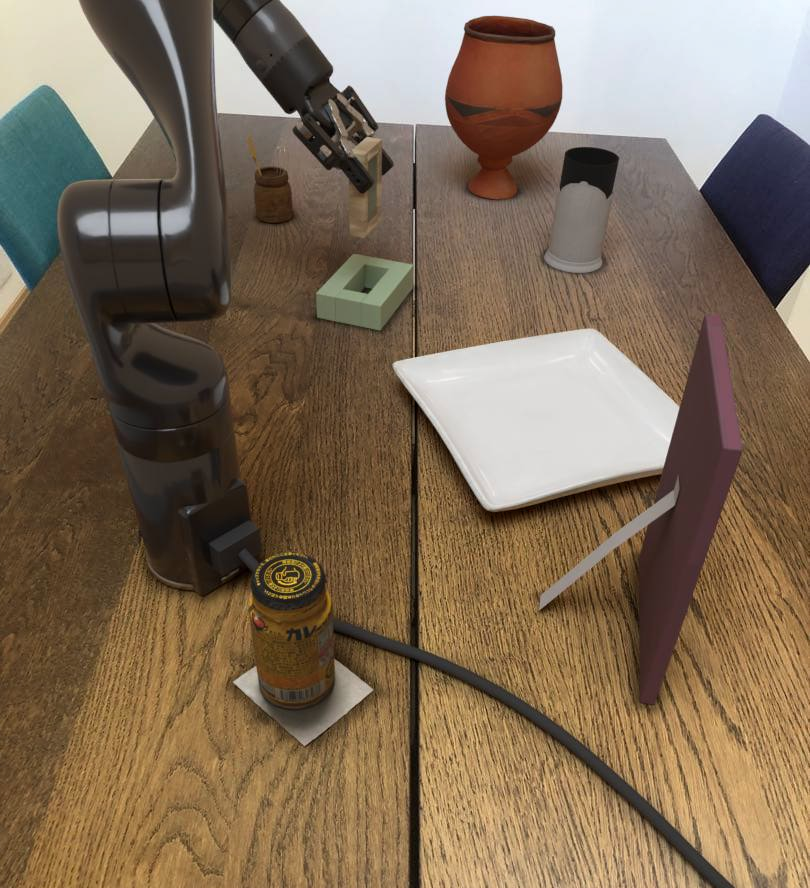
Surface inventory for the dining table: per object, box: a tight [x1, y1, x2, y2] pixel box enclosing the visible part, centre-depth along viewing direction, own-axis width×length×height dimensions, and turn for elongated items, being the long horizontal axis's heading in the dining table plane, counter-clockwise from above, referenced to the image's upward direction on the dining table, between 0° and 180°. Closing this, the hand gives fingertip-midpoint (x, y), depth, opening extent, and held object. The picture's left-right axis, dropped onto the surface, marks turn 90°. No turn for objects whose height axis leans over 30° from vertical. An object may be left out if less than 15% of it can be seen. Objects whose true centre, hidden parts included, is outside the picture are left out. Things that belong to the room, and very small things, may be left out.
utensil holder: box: [245, 134, 294, 224], centre depth 128 cm, size 6×6×12 cm
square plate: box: [391, 327, 680, 513], centre depth 90 cm, size 27×27×4 cm
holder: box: [315, 253, 415, 331], centre depth 110 cm, size 9×13×4 cm
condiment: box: [232, 551, 374, 747], centre depth 61 cm, size 7×8×12 cm
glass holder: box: [543, 146, 620, 274], centre depth 120 cm, size 9×14×15 cm, turn 161°
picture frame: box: [538, 314, 744, 706], centre depth 63 cm, size 17×10×25 cm, turn 168°
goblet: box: [444, 15, 564, 200], centre depth 134 cm, size 19×19×25 cm
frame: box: [348, 137, 383, 239], centre depth 101 cm, size 2×6×10 cm, turn 161°
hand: (378, 179), depth 100 cm, fingers closed on frame, 6 cm apart
